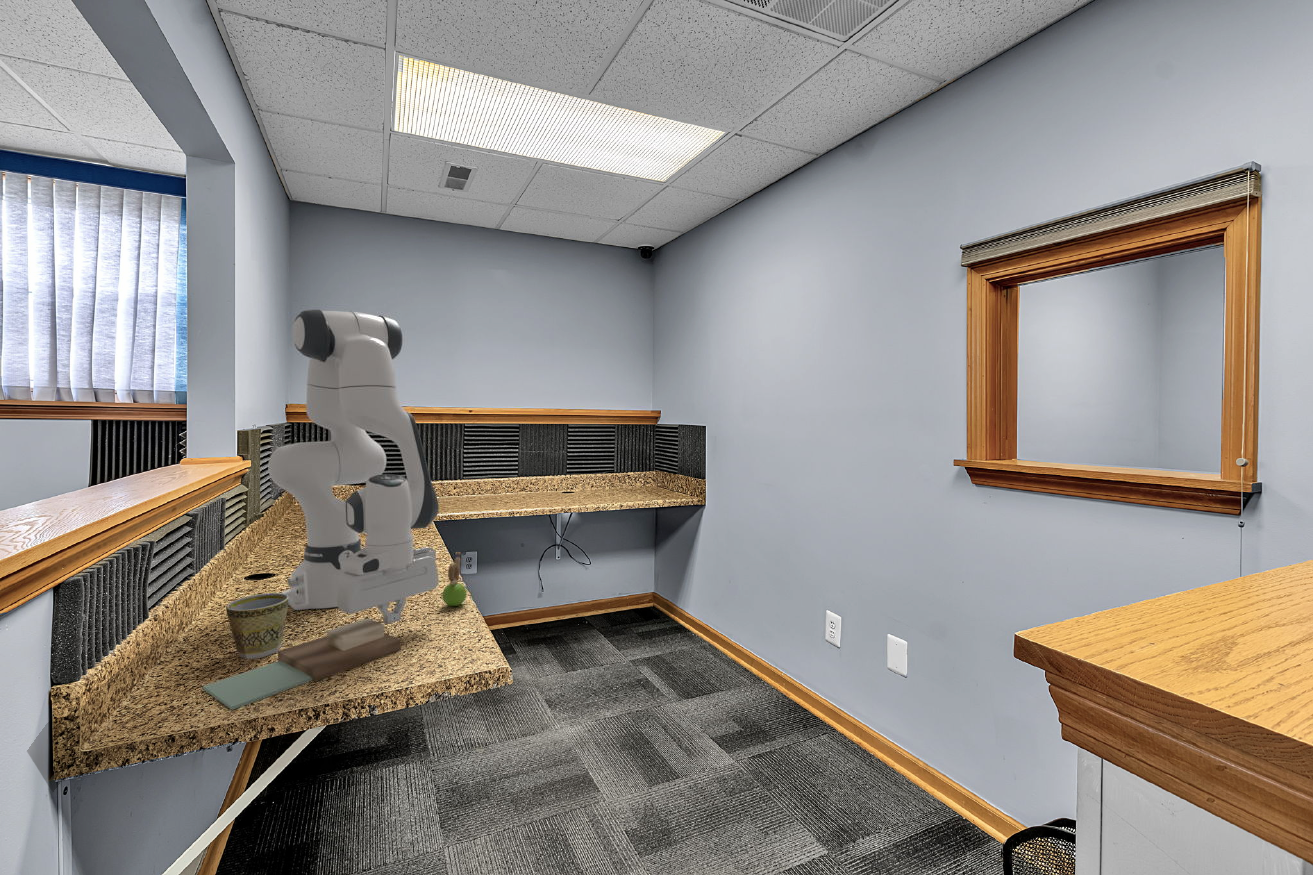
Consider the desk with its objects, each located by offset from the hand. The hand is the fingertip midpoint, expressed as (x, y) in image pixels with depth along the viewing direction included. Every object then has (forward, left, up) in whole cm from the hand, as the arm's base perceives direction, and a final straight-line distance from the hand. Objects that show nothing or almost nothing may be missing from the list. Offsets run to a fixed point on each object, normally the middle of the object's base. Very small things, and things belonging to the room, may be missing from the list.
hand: (392, 621), depth 120 cm
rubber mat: (0, -24, -3) cm, 25 cm away
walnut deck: (0, -10, -3) cm, 11 cm away
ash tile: (0, -7, -1) cm, 8 cm away
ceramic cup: (-16, -17, -4) cm, 24 cm away
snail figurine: (-6, +20, -4) cm, 21 cm away
